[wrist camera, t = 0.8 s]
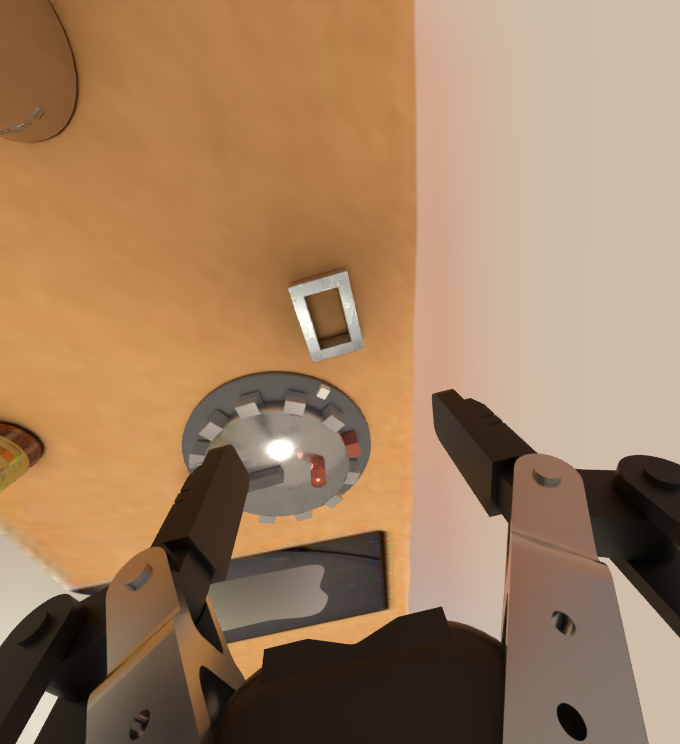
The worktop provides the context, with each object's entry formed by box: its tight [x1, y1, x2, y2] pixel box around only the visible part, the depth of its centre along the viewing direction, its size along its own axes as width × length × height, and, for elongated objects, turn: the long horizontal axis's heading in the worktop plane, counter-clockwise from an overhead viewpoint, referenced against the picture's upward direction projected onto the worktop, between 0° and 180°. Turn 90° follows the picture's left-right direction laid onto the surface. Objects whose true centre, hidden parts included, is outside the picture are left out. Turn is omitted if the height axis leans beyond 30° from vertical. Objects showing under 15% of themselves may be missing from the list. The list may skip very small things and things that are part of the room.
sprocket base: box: [182, 372, 371, 509], centre depth 31 cm, size 22×22×2 cm
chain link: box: [288, 268, 364, 362], centre depth 24 cm, size 7×5×2 cm
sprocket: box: [174, 390, 361, 524], centre depth 28 cm, size 19×21×8 cm
